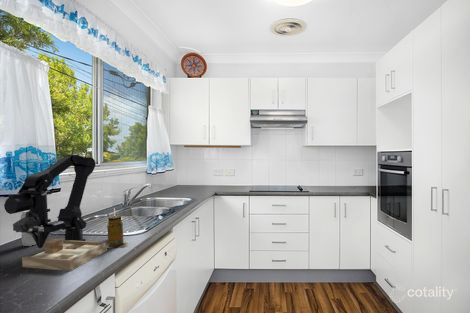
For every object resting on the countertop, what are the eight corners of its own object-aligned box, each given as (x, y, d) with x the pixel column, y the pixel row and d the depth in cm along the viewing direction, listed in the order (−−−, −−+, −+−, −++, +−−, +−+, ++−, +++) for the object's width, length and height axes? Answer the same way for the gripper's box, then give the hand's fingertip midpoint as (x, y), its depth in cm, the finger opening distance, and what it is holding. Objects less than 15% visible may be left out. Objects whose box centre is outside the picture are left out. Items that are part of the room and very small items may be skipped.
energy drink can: (26, 243, 120) (24, 210, 120) (41, 241, 122) (40, 208, 122) (19, 247, 115) (17, 213, 114) (35, 246, 116) (33, 211, 116)
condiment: (110, 242, 118) (109, 215, 117) (130, 241, 119) (129, 214, 118) (104, 248, 110) (103, 219, 110) (125, 247, 111) (124, 218, 111)
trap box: (65, 248, 112) (64, 240, 112) (106, 250, 108) (106, 242, 108) (22, 267, 94) (22, 257, 94) (70, 270, 90) (69, 260, 90)
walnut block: (54, 248, 105) (53, 238, 105) (62, 249, 104) (62, 239, 104) (44, 252, 101) (44, 242, 101) (53, 253, 100) (53, 242, 100)
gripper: (-4, 212, 97) (-1, 254, 98) (38, 213, 93) (40, 257, 94) (26, 205, 108) (28, 243, 109) (65, 206, 104) (67, 246, 105)
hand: (40, 247), depth 104 cm, fingers closed
